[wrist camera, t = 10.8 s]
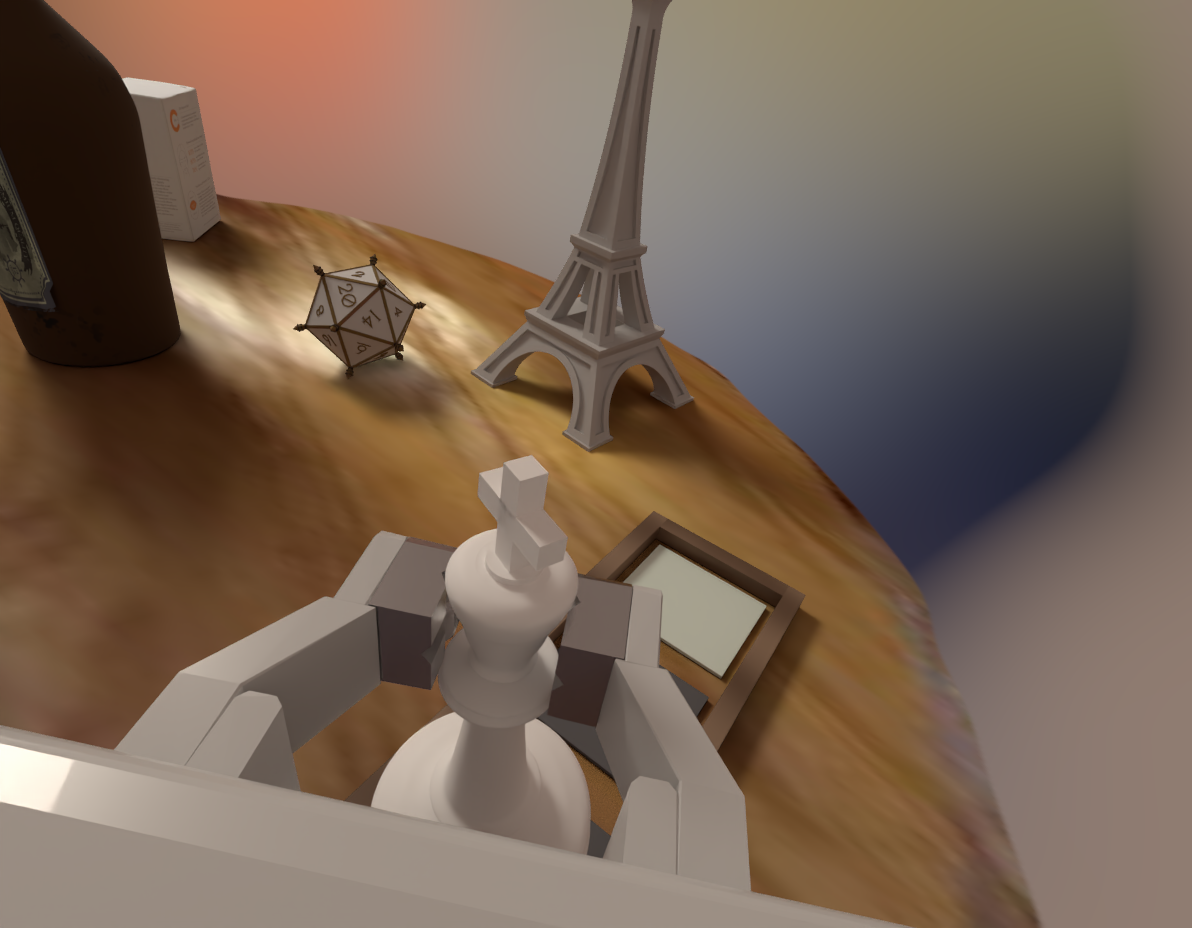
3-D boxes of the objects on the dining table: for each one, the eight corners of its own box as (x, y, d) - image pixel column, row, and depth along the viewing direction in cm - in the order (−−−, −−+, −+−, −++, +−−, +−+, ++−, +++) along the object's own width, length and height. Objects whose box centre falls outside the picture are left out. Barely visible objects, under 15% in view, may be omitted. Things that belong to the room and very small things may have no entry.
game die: (389, 407, 51) (439, 348, 44) (279, 381, 46) (316, 311, 39) (394, 320, 55) (441, 252, 48) (292, 287, 50) (328, 207, 43)
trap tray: (265, 1549, 12) (257, 1561, 11) (29, 1116, 16) (15, 1108, 15) (799, 607, 35) (805, 595, 34) (650, 523, 39) (653, 511, 38)
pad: (720, 678, 30) (722, 676, 30) (604, 603, 33) (604, 601, 33) (765, 608, 35) (766, 606, 34) (659, 546, 37) (659, 544, 37)
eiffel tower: (470, 375, 51) (493, -116, 33) (581, 340, 60) (645, -62, 42) (588, 453, 44) (692, -103, 27) (692, 401, 53) (821, -43, 36)
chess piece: (522, 688, 17) (575, 358, 11) (632, 858, 14) (785, 529, 8) (334, 781, 14) (275, 408, 8) (421, 1017, 11) (423, 694, 5)
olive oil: (133, 298, 52) (19, -99, 37) (222, 339, 49) (135, -76, 34) (-22, 336, 44) (-243, -151, 29) (73, 389, 41) (-123, -127, 26)
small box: (159, 213, 68) (126, 76, 61) (222, 220, 69) (197, 87, 62) (124, 235, 62) (82, 85, 54) (194, 243, 63) (162, 97, 56)
